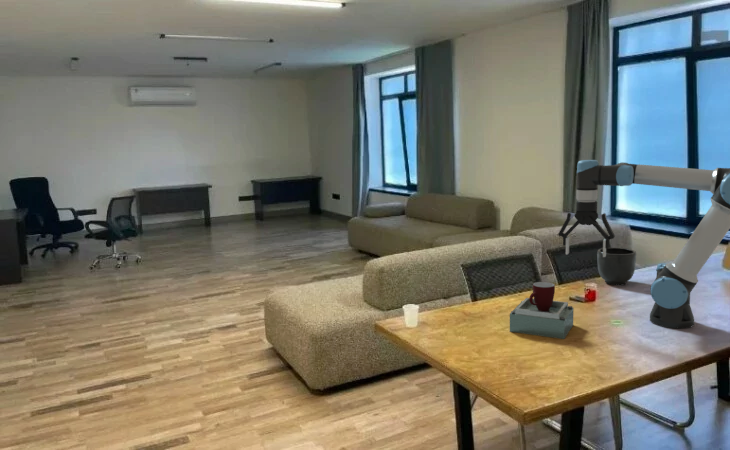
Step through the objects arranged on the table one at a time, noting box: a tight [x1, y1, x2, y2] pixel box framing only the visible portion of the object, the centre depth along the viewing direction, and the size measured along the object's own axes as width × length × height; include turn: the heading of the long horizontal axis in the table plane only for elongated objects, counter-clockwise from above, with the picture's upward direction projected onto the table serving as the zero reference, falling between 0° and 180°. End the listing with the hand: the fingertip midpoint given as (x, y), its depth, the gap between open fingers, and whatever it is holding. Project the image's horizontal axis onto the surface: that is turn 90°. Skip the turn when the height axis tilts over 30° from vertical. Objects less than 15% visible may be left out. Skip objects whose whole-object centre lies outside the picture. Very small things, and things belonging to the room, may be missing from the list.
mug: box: [528, 281, 556, 311], centre depth 217 cm, size 10×8×10 cm
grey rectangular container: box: [509, 297, 575, 340], centre depth 218 cm, size 20×17×9 cm
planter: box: [596, 247, 637, 286], centre depth 275 cm, size 17×17×16 cm
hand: (585, 255), depth 220 cm, fingers open, 13 cm apart
